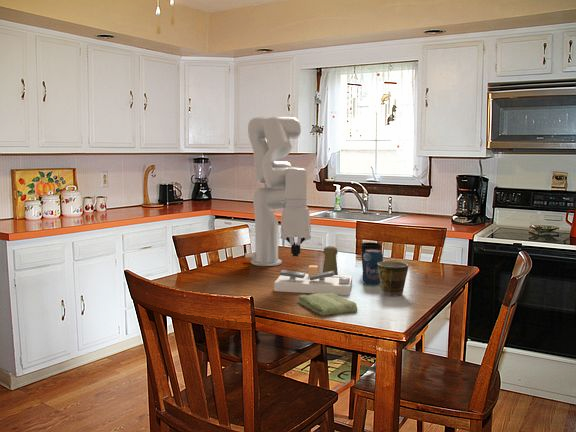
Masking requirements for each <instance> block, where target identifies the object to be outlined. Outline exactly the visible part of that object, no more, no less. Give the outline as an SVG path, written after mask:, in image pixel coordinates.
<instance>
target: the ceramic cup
mask: <svg viewBox="0 0 576 432" xmlns="http://www.w3.org/2000/svg"><path fill="white" fill-rule="evenodd" d="M408 270H409V264H408V263H406V262H403V261H397V260H396V261H395V260H385V261H384V260H383V262H379V263H378V272H379V277H380V285H379V286H380V291H381V294H383V296H386V297H387V296H388V297H399V296H401V295H403V293H404V288H405V284H406V279H407V277H408V276H407V275H408Z"/></svg>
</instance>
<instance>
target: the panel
mask: <svg viewBox="0 0 576 432" xmlns="http://www.w3.org/2000/svg"><path fill="white" fill-rule="evenodd" d="M310 276H311V275H308V273H305V277H304V278H297V277H289V276H282V275H280V274H279V276H278V278H277V279H276V280H274V283H273V284H274V285H273V286H274V287H273V289H274V292H281V293H282V292H284V293H301V294H303V293H304V294H320V293H324V294H325V293H326V294H327V293H334V294H337V295H338V296H341V295H342V296H350V293H351V291H352V287H353V286H352V285H353V275H339V274H338V275H334V276H331V277H326V278H320V279H315V280H310Z"/></svg>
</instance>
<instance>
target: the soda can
mask: <svg viewBox="0 0 576 432" xmlns="http://www.w3.org/2000/svg"><path fill="white" fill-rule="evenodd" d="M383 261H384V255H383V253H382V249H381V250H378V249H366V250H365V252H364V254H363V268H362V281H363V283H364V285H366V286H381V285H380V277H379V272H378V263H379V262H383Z"/></svg>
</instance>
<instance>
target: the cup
mask: <svg viewBox="0 0 576 432" xmlns="http://www.w3.org/2000/svg"><path fill="white" fill-rule="evenodd" d="M360 249H361V253H360V254H361V265H362V266H361V267H362V269H363V254H364V252H365V250H366V249H378V250H381V251H382V243H379V242H361V244H360Z"/></svg>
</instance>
